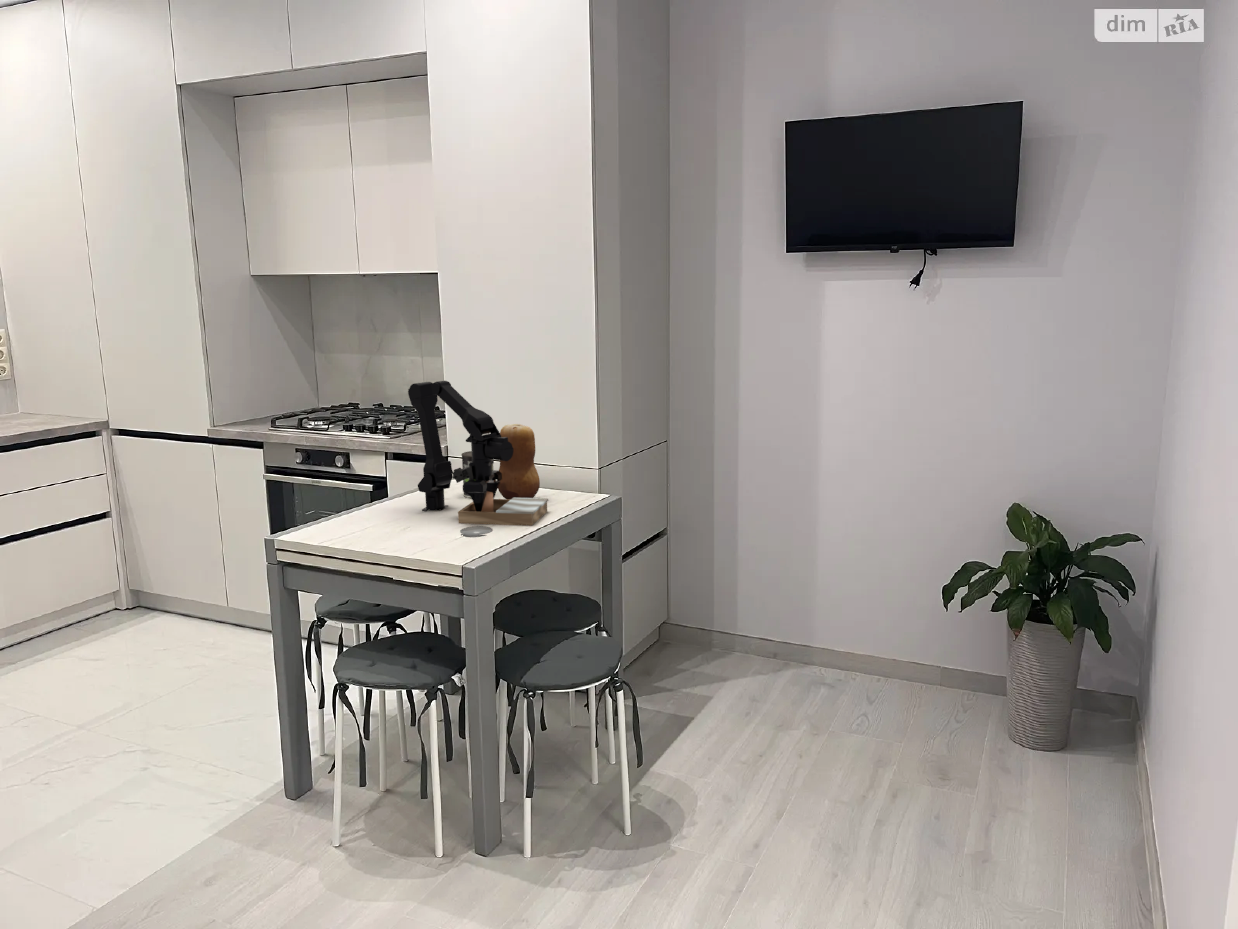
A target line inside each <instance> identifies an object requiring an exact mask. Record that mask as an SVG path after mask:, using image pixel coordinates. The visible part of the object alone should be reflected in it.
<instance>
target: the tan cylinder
mask: <svg viewBox="0 0 1238 929" xmlns="http://www.w3.org/2000/svg"><path fill="white" fill-rule="evenodd" d="M475 511H476V509H475ZM481 512H494V504H493V492H487V493H486V497H485V501H484V504H483V508H482V511H481Z"/></svg>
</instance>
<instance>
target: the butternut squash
mask: <svg viewBox="0 0 1238 929" xmlns="http://www.w3.org/2000/svg"><path fill="white" fill-rule="evenodd" d="M499 433H500V435H501V437H507V438H508V442H510V443H511V444H512V447H513V449H514V451H513V456H512V458H511V459H510V460H509V461H501V460H499V468H498V471H500V472H501V473H502V480H500V484H499V486H498V489H497V491H498V492H499V494H501V497H503V499H512V498H535V496H536V495H537V493H538V492H539V490H540V486H541V485H540V476H539V473H538V470H537V468H536V466H535V456H536V438H535V433H534V431H533V429H532V428H531V427H530V426H527V425H523V424H520V423H513V424H505V425H504V426H502V428H501V429H500V430H499Z"/></svg>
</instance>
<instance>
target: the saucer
mask: <svg viewBox="0 0 1238 929" xmlns="http://www.w3.org/2000/svg"><path fill="white" fill-rule="evenodd" d="M491 532H493V528H492V527H491V526H486V525H474V526H473V525H472V526H471V525H470V526H467V527H464V528H461V529H460V531H459V533H460V536H462V535H463V537H468V538H479V537H486V536H488V535H487V534H490V533H491Z"/></svg>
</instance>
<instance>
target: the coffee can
mask: <svg viewBox="0 0 1238 929" xmlns="http://www.w3.org/2000/svg"><path fill="white" fill-rule="evenodd" d="M492 460H493V459H492ZM470 462H472V450H470V451H464V452H462V453H461V464H462V469H463V468H466V467H469V463H470ZM492 470H494V463H493V464H492ZM468 480H469V478H468V479H465V480H462V481H463V482H462V485H463V484H464V483H465V482H467V481H468ZM464 496H465V497H464ZM463 497H464V498H467V497H468V498H467V499H472V498H471V496H469V495H468V494H466V493H465V492H463Z"/></svg>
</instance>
